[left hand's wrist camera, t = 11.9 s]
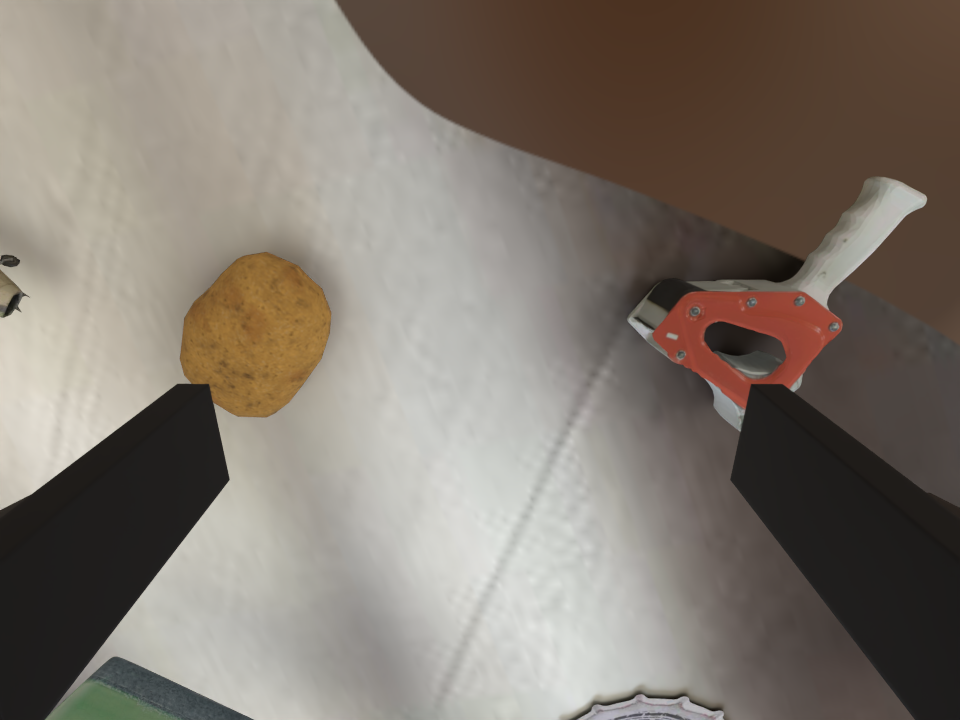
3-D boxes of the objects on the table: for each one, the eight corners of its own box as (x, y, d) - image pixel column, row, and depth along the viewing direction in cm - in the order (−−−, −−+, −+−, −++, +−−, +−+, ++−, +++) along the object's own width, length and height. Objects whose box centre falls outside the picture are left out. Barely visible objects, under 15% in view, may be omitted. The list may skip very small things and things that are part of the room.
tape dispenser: (890, 171, 38) (621, 208, 38) (957, 168, 33) (648, 212, 33) (864, 391, 43) (630, 425, 43) (918, 417, 38) (654, 456, 38)
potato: (184, 346, 41) (129, 381, 35) (264, 218, 38) (220, 232, 31) (283, 410, 43) (249, 454, 37) (369, 296, 40) (347, 323, 33)
